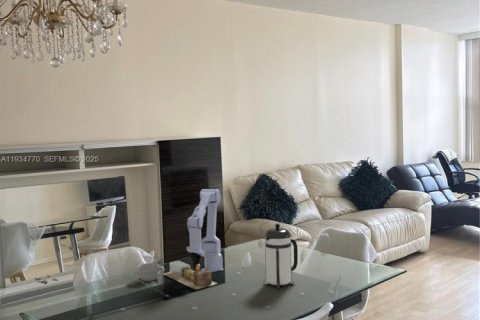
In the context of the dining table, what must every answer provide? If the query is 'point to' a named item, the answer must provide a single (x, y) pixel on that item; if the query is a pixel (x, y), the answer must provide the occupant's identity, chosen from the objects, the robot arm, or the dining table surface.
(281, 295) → the dining table surface
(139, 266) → the teacup
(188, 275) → the gold square bar
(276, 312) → the dining table surface
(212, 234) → the robot arm
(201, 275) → the walnut socket
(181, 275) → the steel block
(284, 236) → the coffee press
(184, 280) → the birch board
